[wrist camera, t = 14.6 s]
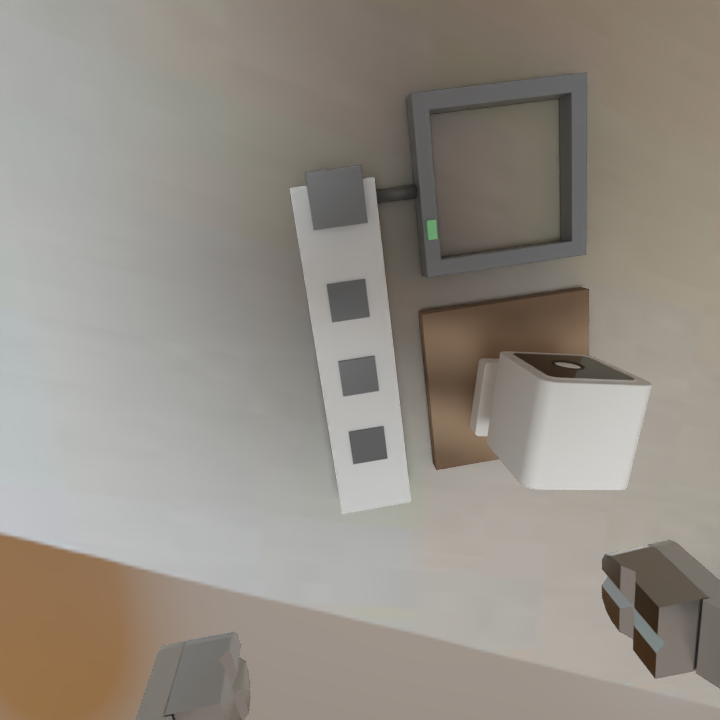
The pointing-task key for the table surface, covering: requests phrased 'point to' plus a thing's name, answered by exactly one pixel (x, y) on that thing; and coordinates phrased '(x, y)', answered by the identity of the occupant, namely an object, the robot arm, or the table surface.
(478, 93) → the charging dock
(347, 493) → the power strip
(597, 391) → the security camera
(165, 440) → the table surface
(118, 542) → the table surface
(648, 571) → the robot arm
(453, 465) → the walnut pad
